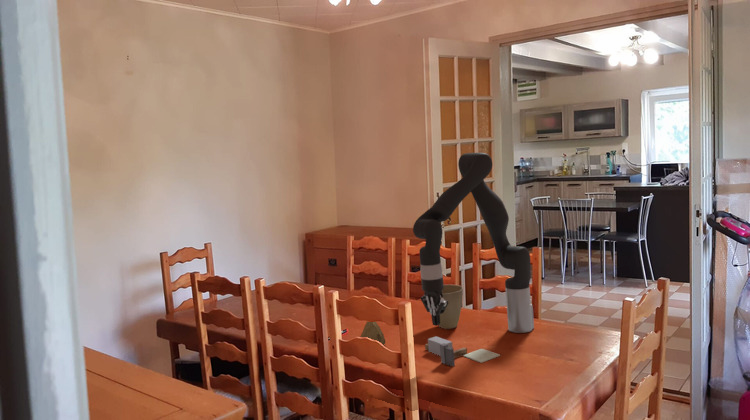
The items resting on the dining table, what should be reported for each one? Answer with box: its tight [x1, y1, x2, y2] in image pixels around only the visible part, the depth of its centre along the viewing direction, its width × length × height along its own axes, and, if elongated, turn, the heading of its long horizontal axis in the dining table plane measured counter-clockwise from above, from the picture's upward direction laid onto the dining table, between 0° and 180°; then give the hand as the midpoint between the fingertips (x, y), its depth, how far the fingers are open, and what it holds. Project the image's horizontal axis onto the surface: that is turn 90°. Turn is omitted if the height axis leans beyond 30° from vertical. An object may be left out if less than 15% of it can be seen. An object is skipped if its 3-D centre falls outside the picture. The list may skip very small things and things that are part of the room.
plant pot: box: [438, 284, 464, 330], centre depth 234 cm, size 15×15×16 cm
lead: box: [427, 335, 454, 357], centre depth 205 cm, size 4×9×5 cm, turn 33°
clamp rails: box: [424, 343, 468, 359], centre depth 206 cm, size 8×14×2 cm, turn 33°
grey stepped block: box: [440, 343, 456, 367], centre depth 194 cm, size 2×5×7 cm, turn 33°
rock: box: [360, 321, 386, 345], centre depth 220 cm, size 11×9×10 cm
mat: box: [462, 348, 501, 364], centre depth 199 cm, size 9×9×1 cm
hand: (436, 324), depth 197 cm, fingers closed
